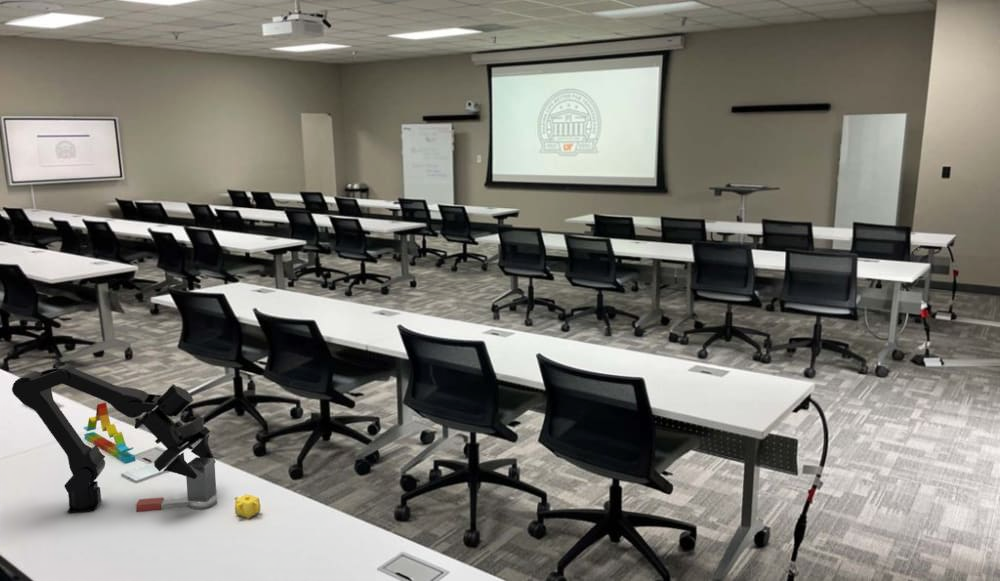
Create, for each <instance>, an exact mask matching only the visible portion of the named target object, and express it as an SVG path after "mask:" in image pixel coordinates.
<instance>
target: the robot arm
mask: <svg viewBox="0 0 1000 581" xmlns="http://www.w3.org/2000/svg"><path fill="white" fill-rule="evenodd" d="M60 385H65V386H67V387H70V388H72V389H74V390H77V391H79V392H82V393H84V394H87V395H90V396H92V397H94V398H97V399H99V400H101V401H103V402H105V403H107V404H110V406H112V407H113V409H115V410H116V411H117V412H119V413H121V414H122V415H124V416H126V417H128V418H131V419H134V421H135V423H134V429H135V430H137V429H140V428H142V427H145V428H146V429H147V430H148V431H149V432H150V433H151V434H152V435H153V436H154V437H155V438H156V439H155V441H154V442H155V443H156V444H157V445H159V444H160V443H161V444H162V445H163V446H164V447H165V448H166V449H165V450H164V451H163V452H162V453H161V454H160V455H159V456H157V458H156V459H154V461H153V463H154V467H155V468H156V469H157V470H158V471H161V470H162V469H164V468H165V467H166V468H165V469H164V470H163V471H169V472H168V473H170V472H171V473H174V474H177V475H180V476H184V477H189V478H192V479H195V478H197V475H196V473H195V472H194V471H193V469H192V468H191V467H190V466H189V465H188V462H187V461H186V459H185V455H184V454H185V453H184V451H186V449H190V452H191V453H193V454H194V455H195V456H197V457H200V458H214V461H215V463H216V462H217V461H216V459H215V457H214V455H213V453H212V451H211V449H210V446H209V438H210V433H211V431H210V429H209V428H208V427H206V426H204V425H203V424H204V423H205V419H204V418H203V417H202V416H201V415H199V413H195V414H193V415H192V416H190V417H189V421H188V422H185V423H182V422H181V421H177V422H175V421H174V420H173V419H172V417H177V416H179V415H180V414H181V413H182V412H183V411H184V410H185V409H186V408H187V407H188V406H190V405H191V404H192V403H193V401H194V398H193V396H192V394H191V392H189V391H188V390H186V389H185V388H182V387H180V386H177V385H175V384H171V385H170V386H169V387H168V389H167V390H166V391H165V392H164V393H163V394H162V395H161V394H153V393H148V392H146V391H144V390H142V389H137V388H133V387H127V386H125V387H124V386H119V385H115V384H113V383H110V382H108V381H105V380H103V379H101V378H98V377H96V376H95V375H91V374H89V373H86V372H84V371H82V370H79V369H76V368H75V367H73V366H72V365H69V364H64V365H62V366H58V367H55V368H50V369H46V370H43V371H39V370H38V371H37V370H31V371H27V372H26V373H25V374H24V375H21V377H19V378H18V379H16V380H15V381H14V382H13V384H12V387H11V392H12V394H13V395H14V396H15V397H16V398H17V399H18V400H19V401H20V403H22V404H23V405H24V406H26V407H28V408H29V409H31V410H33V411H34V412H35V413H36V414H37V416H38V417H39V419H41V421H42V422H43V423H44V425H45V427H46V428H47V429H48V431H49V432H50V434H51V435H52V437H53V438H54V439H55V440H56V442H57V443H58V444H59V446H60V448H61V449H62V450H63V452H64V453H65V454H66V457H67V461H68V467H69V469H70V472H71V474H72V476H71V477H69V479H68V480H67V481H66V483H64V485H63V487H64V489H65V490H66V492H67V496H68V505H69V508H68V509H67V511H66V512H67V513H68V514H71V513H83V512H84V513H85V512H93V511H95V510H96V509H97V507H99V505H100V503H101V502H102V494H101V486H99V485H98V484H99V483H98V481H97V478H98V477H99V476H100V474H101V473H102V472H103V470H104V469H105V465H106V460H105V458H106V455H104V454H103V453H102V452H101V451H100V448H99V447H97V445H94V446H92V447H91V446H89V445H87V444H86V443H85V442H84V441H83V439H82V438H81V437H80V435H79V434H78V432H77V431H76V429H75V428H74V427H73V426H72V424H71V423H70V421H69V420H68V418H67V417H66V416H65V414H64V413H63V411H62V410H61V408H60V406H59V405H58V404H57V403H56V401H55V400H54V396H53V391H52V388H54V387H57V386H60Z"/></svg>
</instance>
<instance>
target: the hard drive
mask: <svg viewBox="0 0 1000 581" xmlns="http://www.w3.org/2000/svg"><path fill="white" fill-rule="evenodd" d="M165 468H166V467H165ZM165 468H164V469H165ZM164 469H162V470H161V471H158V470H157V469H156V468H155V467H154V462H152V463H148V464H146V465H143V466H139V467H137V468H133V469H131V470H127V471H124V472H121V474H120V477H121V478H124V479H126V480H128V481H130V482H132V483H134V484H140V483H142V482H144V481H148V480H150V479H153V478H156V477H159V476H161V475H164V474H167V473H170V472H169V471H163V470H164Z"/></svg>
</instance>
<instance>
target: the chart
mask: <svg viewBox="0 0 1000 581" xmlns="http://www.w3.org/2000/svg"><path fill="white" fill-rule="evenodd" d="M107 406H108V405H107V402H102V403H98V404H97V405H96V413H95V416H92V417H88V421H87V422H88V423H87V426H84V427H83V429H84V430H85V431H86V432H87V433H84V440H85V441H87V442H89V443H90V444H92V445H94V446H95V445H97V447H98V448H99V450H100V449H101V450H102V451H104V452H105V453H107V454H109V455H111V456H113V457H114V458H115V459H117V460H119V461H121V462H122V463H123V464H125V465H126V464H129V463H133V462H136V456H135V455H134V454H133V453H131V452H130V451H132V450H133V449H134V447H128V446H127V444H126V442H125V438H124V436H123V435H124V434H123V432H122V431H119V432H118V430H117V428H116V424H115V423H113V424H111V419H110V415H109V411H108V407H107ZM99 421H100V425H101V430H102V432H107V433H108V434H107V435H108V437H109V438H113V440H114V442H112V441H110V440H109V439H107V438H106V437H104V436H103V435H100V434H98V432H96V431H95V430H96V429H97V423H98V422H99ZM90 431H91V432H90Z"/></svg>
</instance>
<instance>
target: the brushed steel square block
mask: <svg viewBox="0 0 1000 581" xmlns="http://www.w3.org/2000/svg"><path fill="white" fill-rule="evenodd" d="M214 459H215V457H214V458H200V457H199V456H197V457H195V458H193V459H191V460H190V461H189V462H187V464H188V465H189V466H190V467H191V468H192V469H193V471H194V472H195V473H196V475H197V478H195V479H192V478H189V477H186V476H185V477H186V480H185V481H186V490H187V491H186V493H187V494H186V496H187V497H188V501H199V502H207V501H208V500H209V499H210V498H212V497H213V496H214V495H215V494H216V495H217V483H216V481H217V480H216V467H215V466H216V465H215V464H216V462H215V461H216V460H215V461H214Z"/></svg>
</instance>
